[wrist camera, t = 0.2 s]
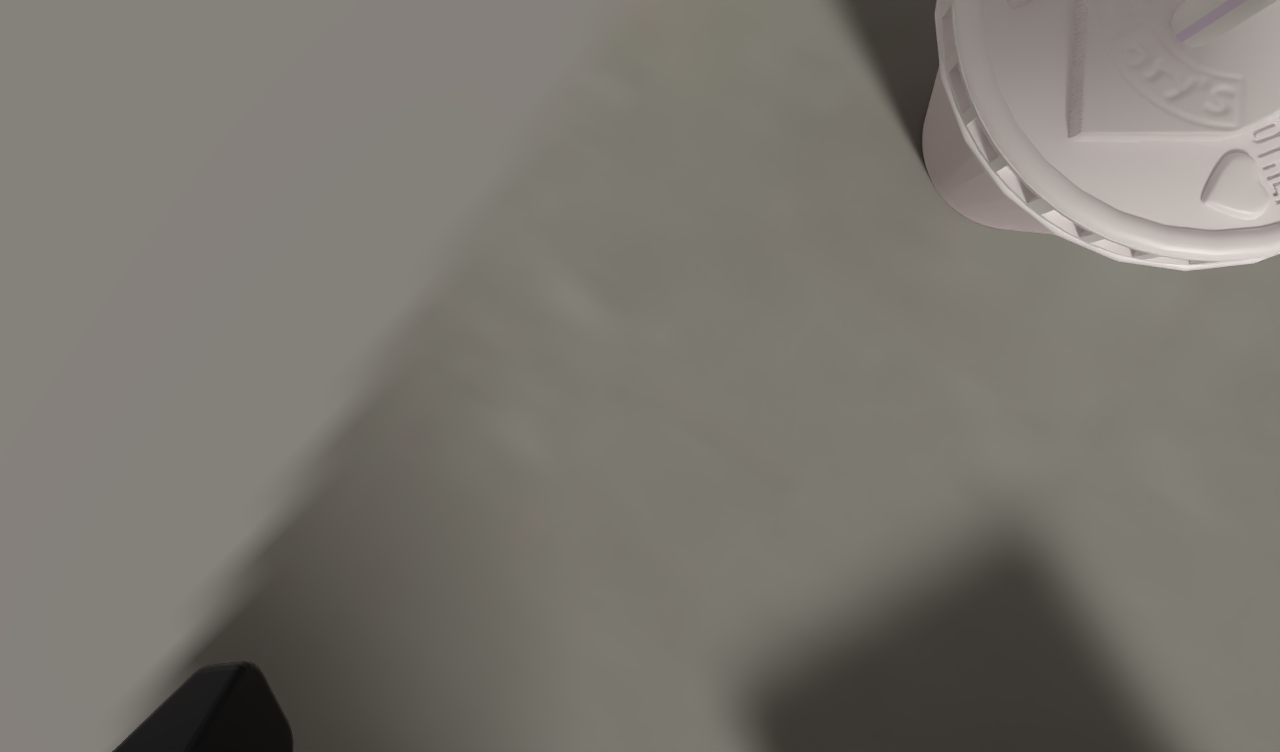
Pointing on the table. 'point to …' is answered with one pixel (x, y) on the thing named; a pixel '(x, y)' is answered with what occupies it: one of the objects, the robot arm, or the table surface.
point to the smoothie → (1113, 124)
